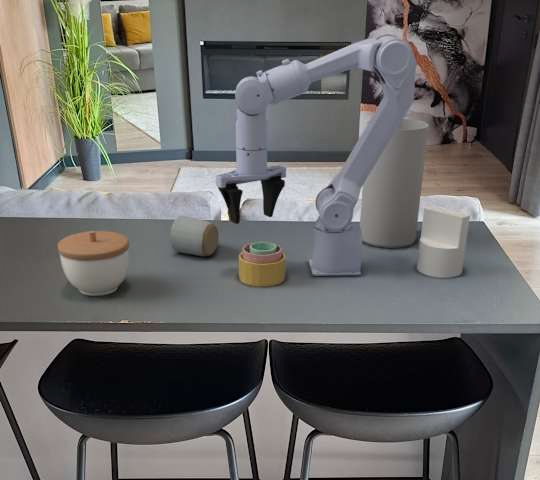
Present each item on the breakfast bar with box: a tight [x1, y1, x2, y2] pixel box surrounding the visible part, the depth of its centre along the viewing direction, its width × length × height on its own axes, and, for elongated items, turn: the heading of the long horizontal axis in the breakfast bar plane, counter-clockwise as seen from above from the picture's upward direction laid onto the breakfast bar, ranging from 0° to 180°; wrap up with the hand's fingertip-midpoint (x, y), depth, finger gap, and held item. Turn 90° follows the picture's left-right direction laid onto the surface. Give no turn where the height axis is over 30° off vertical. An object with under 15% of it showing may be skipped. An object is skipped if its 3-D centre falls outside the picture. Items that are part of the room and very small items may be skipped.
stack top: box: [242, 241, 283, 264], centre depth 137 cm, size 8×8×6 cm
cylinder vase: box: [359, 118, 429, 249], centre depth 152 cm, size 12×12×25 cm
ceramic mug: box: [169, 215, 219, 257], centre depth 149 cm, size 11×8×8 cm
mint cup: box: [250, 241, 277, 255], centre depth 137 cm, size 5×5×6 cm
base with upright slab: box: [416, 204, 471, 279], centre depth 140 cm, size 9×9×12 cm
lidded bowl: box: [57, 230, 130, 297], centre depth 130 cm, size 13×13×11 cm
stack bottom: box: [238, 251, 287, 288], centre depth 137 cm, size 9×9×4 cm
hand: (251, 219), depth 137 cm, fingers open, 7 cm apart
